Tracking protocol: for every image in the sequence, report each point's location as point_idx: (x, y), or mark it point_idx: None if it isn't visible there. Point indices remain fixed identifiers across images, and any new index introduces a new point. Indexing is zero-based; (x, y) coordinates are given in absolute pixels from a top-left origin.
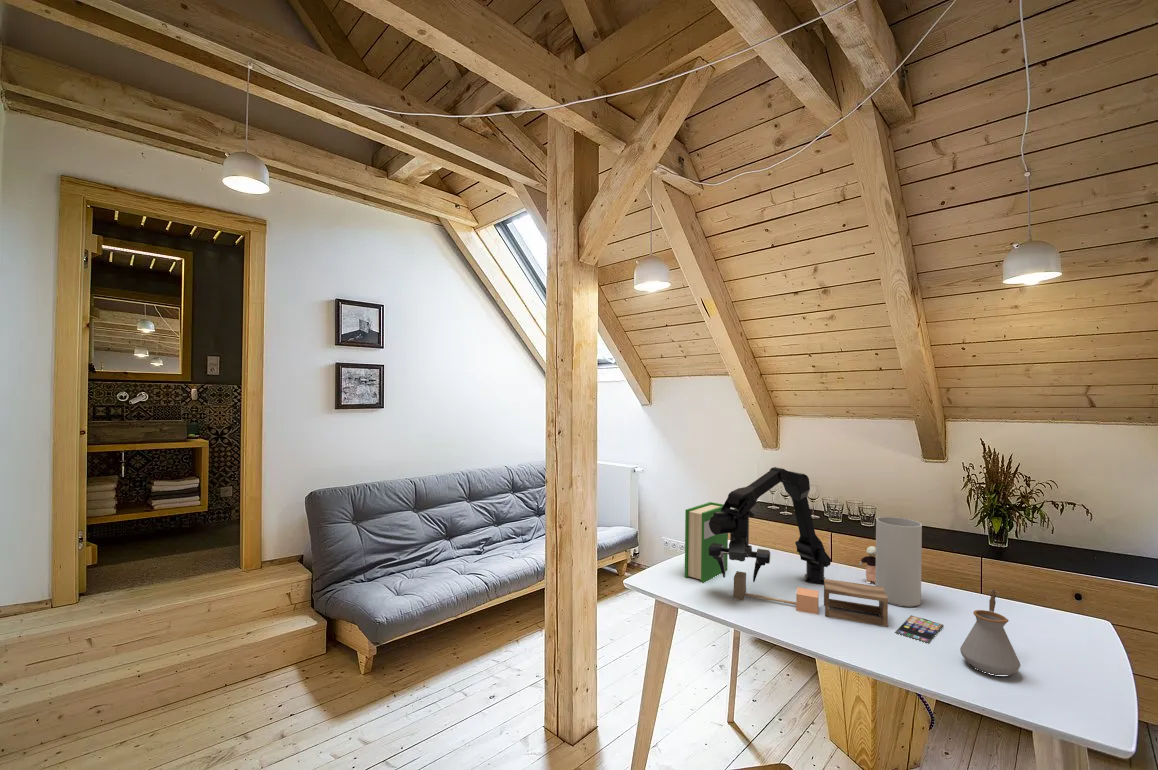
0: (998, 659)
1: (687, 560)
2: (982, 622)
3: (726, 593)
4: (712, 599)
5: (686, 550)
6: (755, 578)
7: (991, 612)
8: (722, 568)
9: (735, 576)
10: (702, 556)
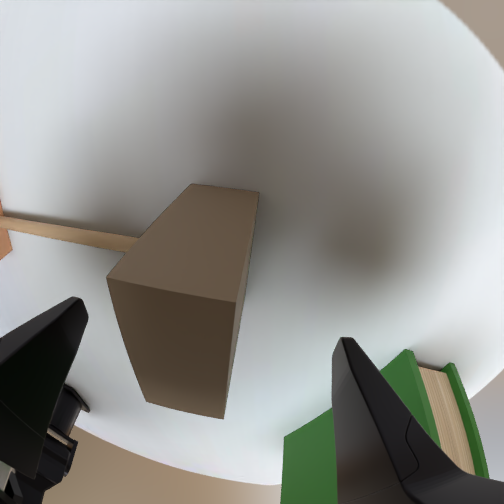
0: None
1: (469, 423)
2: None
3: (306, 268)
4: (406, 140)
5: (482, 458)
6: (45, 311)
7: None
8: (388, 413)
9: (213, 322)
10: None
